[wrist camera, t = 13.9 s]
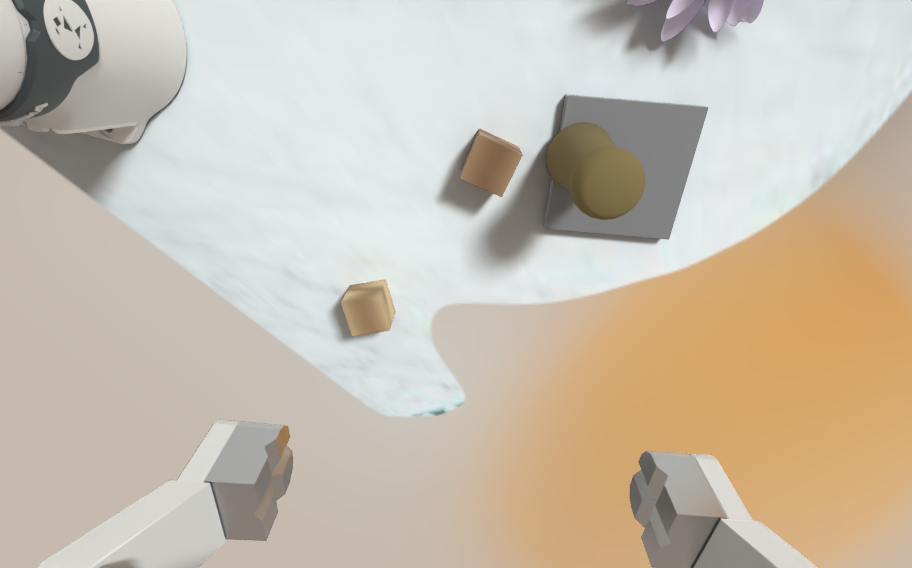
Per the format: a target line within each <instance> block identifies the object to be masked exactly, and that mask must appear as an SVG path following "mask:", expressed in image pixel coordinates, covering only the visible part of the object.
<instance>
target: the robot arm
mask: <svg viewBox="0 0 912 568" xmlns="http://www.w3.org/2000/svg"><path fill="white" fill-rule="evenodd" d="M186 59H187V48H186V38H185V33H184V28H183V24H182V21H181V18H180V15H179V12H178V9H177V7H176V5H175V2H174V0H0V126H5V127H17V126H22V125H23V123H24V122H26V125H27V128H28V130H30V131H34V132H49V131H50V129H52V130H53V131H54V132H55V133H56V134H72V133H83V134H86V135H90V136H93V137H97V138H101V139H104V140H108V141H112V142H115V143H119V144H132V143H135V142H137V141H138V140H139V139H140V137H141V135H142V133H143V131H144V129H145V127H146V124H147V122H148V120H149V119H150V118H151V117H152V116H153V115H154V114H156V113H157V112H158V111H160V110H161V109H163V108H164V107H165V106H166V105H167V104H168V103H169V102H170V101H171V100H172V99H173V98H174V96H175V95H176V93H177V92H178V90H179V88H180V86H181V83H182V81H183V77H184V73H185V69H186ZM23 121H24V122H23ZM111 128H113V131H112V130H111ZM289 438H290V435H289V429H288V426H285V425H276V424H266V423H256V422H255V423H254V422H245V421H232V420H218V421H217V422H216V423H214V424H213V425H212V427H211V429H210V430H209V431H208V433H207V435H206V436H205V438H204V439H203V441H202V442H201V444H200V445H199V447H198V448H197V450H196V451H195V453H194V455H193V456H192V458H191V459H190V461H189V462H188V464H187V465H186V467H185V468H184V470H183V471H182V473H181V474H180V476H179V477H178V479H177V480H169V481H167V482H166V483H164V484H163V485H161V486H160V487H158V488H156V489H155V490H153V491H152V492H150V493H149V494H147V495H146V496H144V497H142V498H141V499H139V500H138V501H137V502H135V503H133V504H132V505H130V506H128V507H127V508H125V509H124V510H122V511H121V512H119V513H118V514H116V515H115V516H113V517H112V518H110V519H108V520H107V521H105V522H104V523H102V524H101V525H99V526H98V527H96V528H95V529H93V530H91V531H90V532H88V533H87V534H85V535H84V536H82V537H80V538H79V539H78V540H76V541H74V542H73V543H71V544H70V545H68V546H67V547H65V548H63V549H62V550H60V551H59V552H57V553H56V554H54V555H53V556H51V557H50V558H48V559H46V560H45V561H43V562H42V563H41V564H40V565H39V567H38V568H199V567H200V566H201V565H202V564H203V563H204V562H205V561H206V560H207V559H208V558H210V557H211V556H212V555H213V554H214V553H215V552H216V551H217V550H218V549H219V548H220V547H221V546H222V545H223V544H224V543H225V542H226V539H234V540H259V541H266V540H267V538H268V535H269V533H270V530H271V528H272V525H273V523H274V520H275V518H276V516H277V513H278V510H277V503H276V501H277V500H278V499H279V498H280V497H282V496H283V495H284V494H285V493H286V490H287V487H288V485H289V482H290V478H291V473H292V469H293V455H292V450H290V448H289V447H287V446H286V445H287V443H288V441H289ZM639 464H640V467H641V470H640V471H639V472H637V473H636V474H634V475H633V478H632V481H631V484H630V502H631V508H632V511H633V514H634V517H635V519H636V520H637V521H638V522H639V523H640V524H641V525H642V526H643V527H644V528H645V529H644V532H643V534H642V537H641V538H642V541H643V544H644V547H645V549H646V552H647V555H648V558H649V561H650V564H651V567H654V568H818V567H816V566H815V565H814V564H813V563H811V562H810V561H809V560H808V559H806V558H805V557H804V556H802V555H801V554H800V553H799V552H798V551H796V550H795V549H794V548H793V547H791V546H790V545H789V544H788V543H786V542H785V541H784V540H783V539H781V538H780V537H779V536H777V535H776V534H775V533H774V532H773V531H771V530H770V529H769V528H767V527H766V526H765V525H764V524H762V523H761V522H759V521H753V520H752V518H751V516H750V515H749V513H748V511H747V510H746V508H745V506H744V504H743V503H742V501H741V499H740V498H739V496H738V494H737V493H736V491H735V489H734V487H733V486H732V484H731V482H730V481H729V479H728V477H727V476H726V474H725V472H724V470H723V469H722V467H721V465H720V464H719V462H718V460H717V459H716V458H715V457H714V456H712V455H701V454H687V453H673V452H657V451H645V452H644V453H643V454H642V455H641V457H640V459H639Z"/></svg>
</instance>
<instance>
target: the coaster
mask: <svg viewBox="0 0 912 568" xmlns="http://www.w3.org/2000/svg"><path fill="white" fill-rule="evenodd" d="M707 111H708V107H704V106H696V105H684V104H672V103H661V102H649V101H637V100H625V99H614V98H602V97H590V96H578V95H566V94H565V100H564V106H563V112H562V118H561V124H560V130H559V132H560V131H561V130H562V129H563V128H565V127H567V126H570V125H572V124H574V123H581V122H588V123H592V124H596V125H598V126H599V127H601V128H602V129H604V130H605V131H606V132H607V134H608V135H609V136H610V138H611V139H612V141H613V142H614V144H615V146H616V147H620V148H624V149H626V150H627V151H629V152H631V153H632V154H634V155H635V156H636V157H637V158H638V160H639V161H640V162H641V164H642V166H643V170H644V173H645V177H646V180H645V189H644V192H643V194H642V197H641V199H640V200H639V202H638V203H637V204H636V206H635V207H634V208H633V209H632V210H630V211H629V212H628V213H626V214H625V215H623V216H620V217H618V218H615V219H609V220H600V219H596V218H592V217H589V216H588V215H586V214H584V213H583V212H581V211H580V210H579V208H578V207H577V206H576V205H575V203H574V202H573V199H572V196H571V193H570V191H568V190H566V189H565V188H563V187H562V186H560V185H558V184H557V183H556V182H555V181H554V180H553V179H552V178H551V183H550V189H549V195H548V201H547V207H546V213H545V219H544V227H545V229H553V230H565V231H576V232H588V233H600V234H612V235H623V236H635V237H647V238H658V239H669V237H670V234H671V231H672V227H673V224H674V221H675V217H676V214H677V211H678V207H679V204H680V201H681V197H682V194H683V191H684V187H685V184H686V181H687V177H688V174H689V171H690V167H691V164H692V161H693V157H694V154H695V151H696V147H697V144H698V141H699V137H700V134H701V131H702V127H703V124H704V121H705V117H706V114H707Z"/></svg>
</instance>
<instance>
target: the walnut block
mask: <svg viewBox="0 0 912 568" xmlns="http://www.w3.org/2000/svg"><path fill="white" fill-rule="evenodd" d="M521 157H522V153H521V151H520V149H519V147H518V146H516V145H514V144H511V143H509V142H507V141H505V140H503V139H501V138H499V137H496V136H494V135H492V134H490V133H488V132H486V131H484V130H481V129H479V130H478V132H477V135H476V137H475V139H474V142H473V144H472V146H471V148H470V151H469V153H468V155H467V157H466V160H465V162H464V164H463V167H462V169H461V177H460V179H462V180H464V181H466V182H469V183H471V184H473V185H475V186H478V187H480V188H482V189H484V190H487V191H489V192H491V193H493V194H496V195H498V196H500V197H502V196H503V194H504V192H505V190H506V188H507V186H508V184H509V181H510V179H511V177H512V175H513V173H514V171H515V169H516V167H517V165H518V163H519V161H520V159H521Z"/></svg>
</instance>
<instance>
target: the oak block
mask: <svg viewBox="0 0 912 568" xmlns="http://www.w3.org/2000/svg"><path fill="white" fill-rule="evenodd" d="M341 306H342V308H343V311H344V314H345V317H346V320H347V323H348V325H349V328H350V331H351V334H352V336H357V335H364V334H370V333H377V332H383V331H389V330H390V327H391V324H392V321H393V318H394V314H395V309H394V305H393V302H392V298H391V295H390V292H389V288H388V285H387V282H386V279H385V280H379V281H373V282H367V283H361V284H355V285H350V286H349V288H348V290H347V292H346V294H345V296H344V297H343V299H342V301H341Z"/></svg>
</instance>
